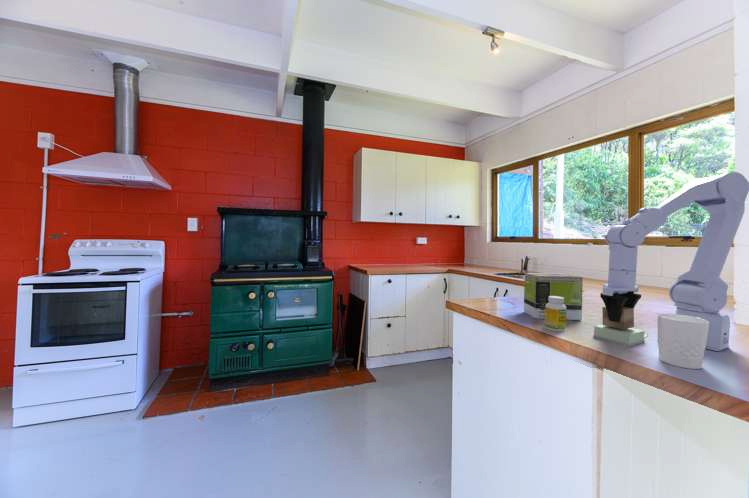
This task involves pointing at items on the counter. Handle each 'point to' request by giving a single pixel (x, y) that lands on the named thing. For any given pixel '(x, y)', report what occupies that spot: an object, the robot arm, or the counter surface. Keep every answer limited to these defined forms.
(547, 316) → the supplement bottle
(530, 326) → the counter surface
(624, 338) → the base brick
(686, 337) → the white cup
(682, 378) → the counter surface
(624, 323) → the walnut brick
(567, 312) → the tea box
